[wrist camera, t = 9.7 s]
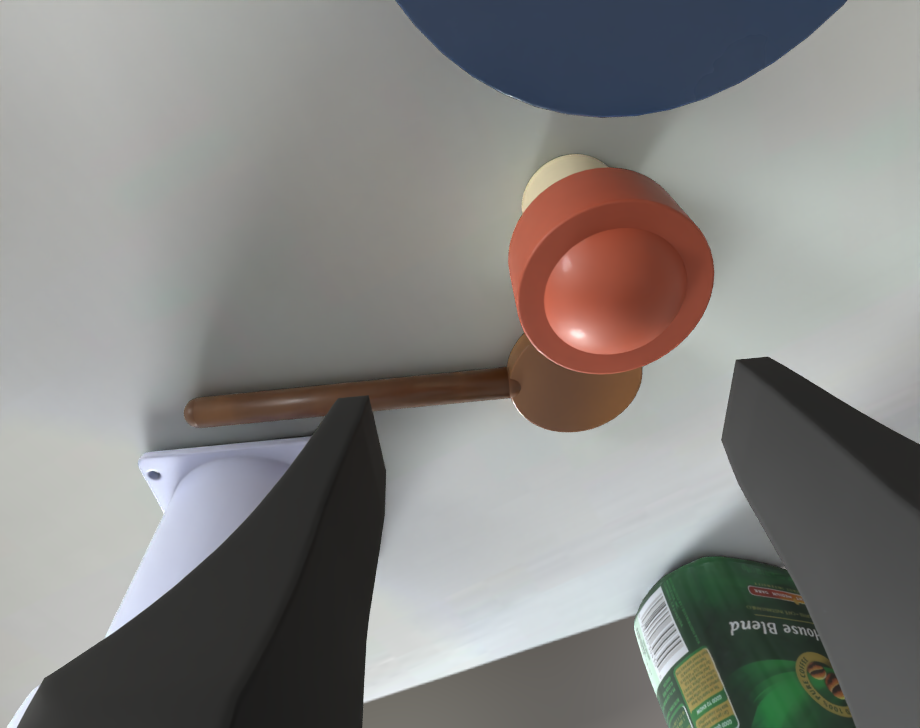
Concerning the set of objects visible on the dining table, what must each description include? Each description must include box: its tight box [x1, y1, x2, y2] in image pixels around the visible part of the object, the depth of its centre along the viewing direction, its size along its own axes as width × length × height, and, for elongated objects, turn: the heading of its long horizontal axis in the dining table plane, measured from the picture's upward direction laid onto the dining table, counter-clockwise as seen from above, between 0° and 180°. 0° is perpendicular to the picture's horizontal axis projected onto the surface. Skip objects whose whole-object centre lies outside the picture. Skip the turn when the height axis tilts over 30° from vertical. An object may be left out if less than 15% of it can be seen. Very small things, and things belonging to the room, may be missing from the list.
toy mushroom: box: [508, 154, 714, 374], centre depth 17 cm, size 5×5×7 cm
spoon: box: [184, 333, 642, 432], centre depth 24 cm, size 18×5×1 cm, turn 96°
